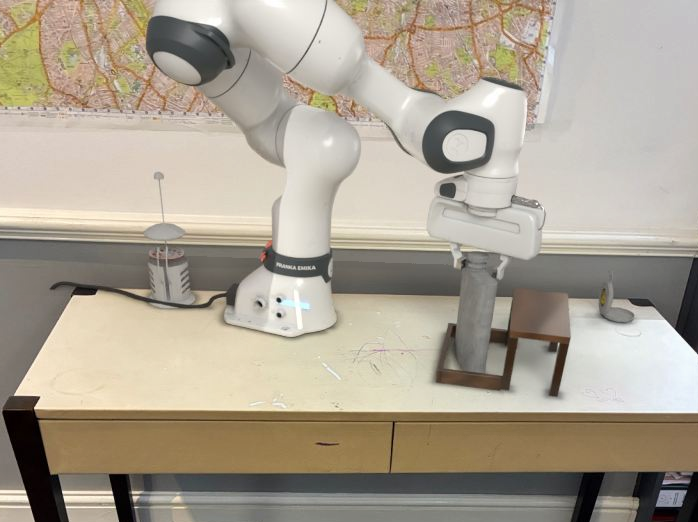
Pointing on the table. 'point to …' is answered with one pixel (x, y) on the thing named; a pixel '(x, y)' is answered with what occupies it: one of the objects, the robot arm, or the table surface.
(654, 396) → the table surface
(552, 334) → the shelf stand
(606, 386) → the table surface
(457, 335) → the hip flask
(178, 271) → the french press
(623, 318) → the pocket watch
